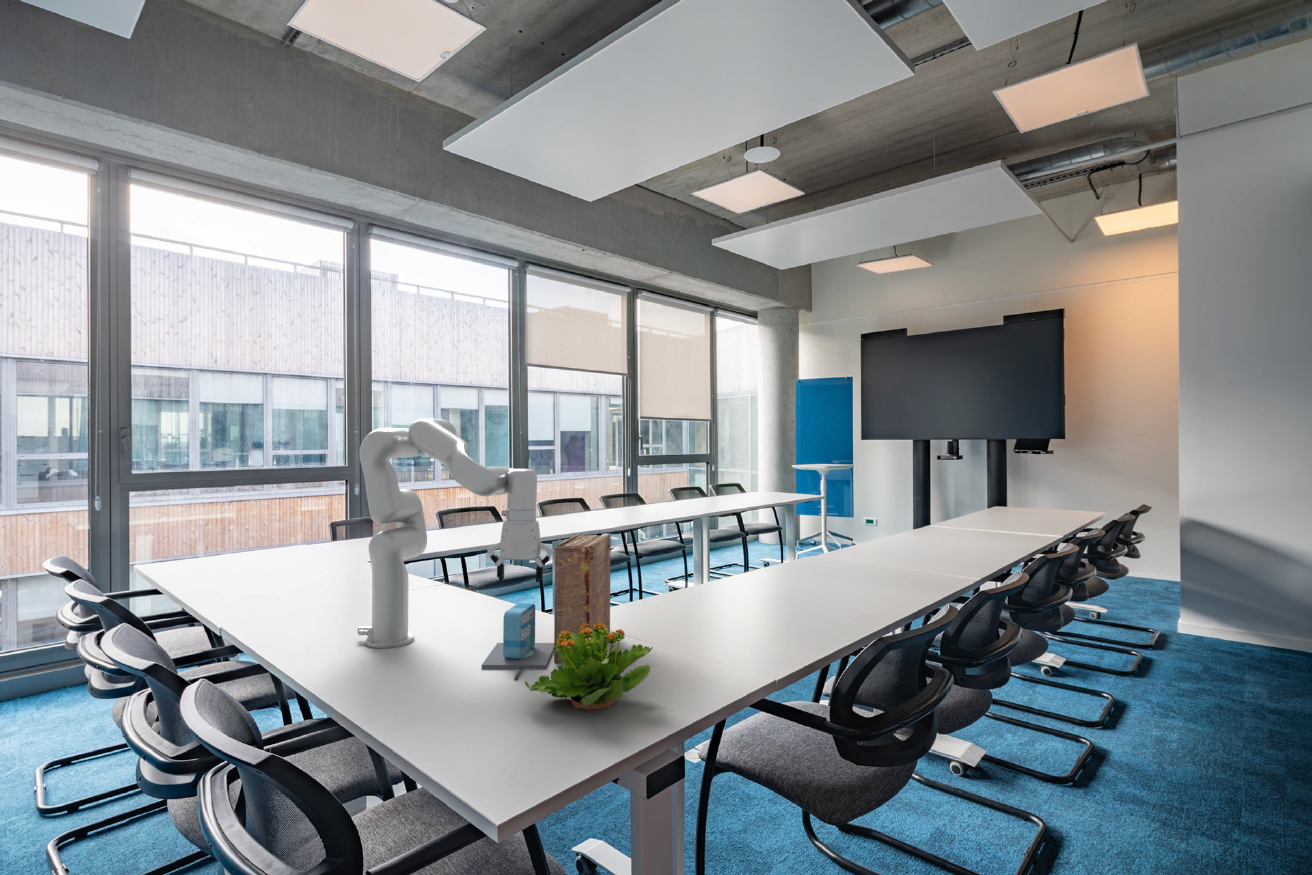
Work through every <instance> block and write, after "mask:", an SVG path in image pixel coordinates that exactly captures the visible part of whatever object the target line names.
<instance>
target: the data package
mask: <svg viewBox="0 0 1312 875" xmlns="http://www.w3.org/2000/svg"><path fill="white" fill-rule="evenodd" d="M502 627H503V630H502V631H503V636H502V637H503V638H502V639H503V640H502V643H503V656H504V658H510V659H522V658H523V657H524V656H525V655H526V654H527V653H528V652H529V651H530V650H531V649H533V647H534V645H535V643H536V605H535V603H532V602H531V603H529V602H528V603H527V602H518V603H516V604H515V605H514V606H512V607H510V608H509V609H507V610H506V611H505V612H504V614H503V626H502Z"/></svg>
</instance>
